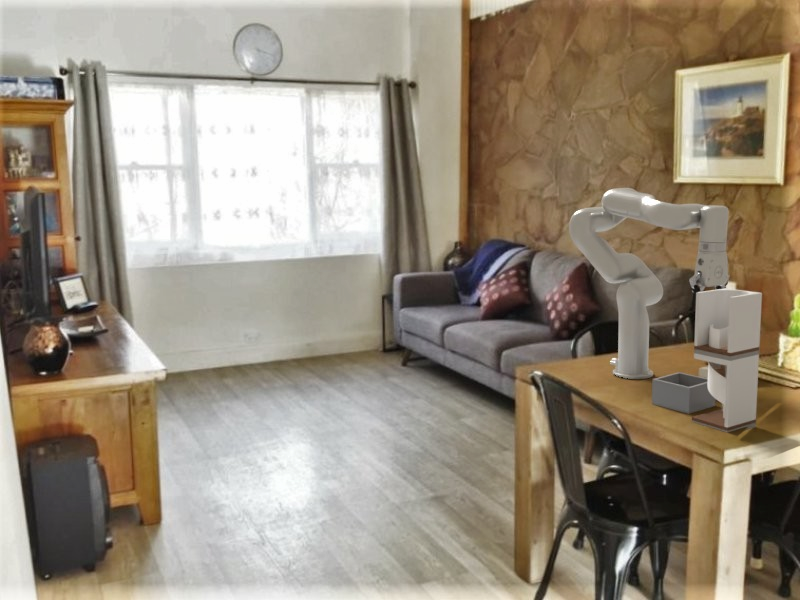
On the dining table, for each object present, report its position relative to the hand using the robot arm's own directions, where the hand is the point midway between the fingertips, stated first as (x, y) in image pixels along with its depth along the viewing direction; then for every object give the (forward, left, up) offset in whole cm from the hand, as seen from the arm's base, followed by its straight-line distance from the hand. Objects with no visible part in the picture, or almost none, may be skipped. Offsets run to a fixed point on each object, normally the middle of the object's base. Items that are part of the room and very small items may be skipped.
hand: (708, 304), depth 229 cm
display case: (+24, -27, -26) cm, 44 cm away
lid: (+4, -4, -26) cm, 27 cm away
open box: (+8, -21, -26) cm, 35 cm away
